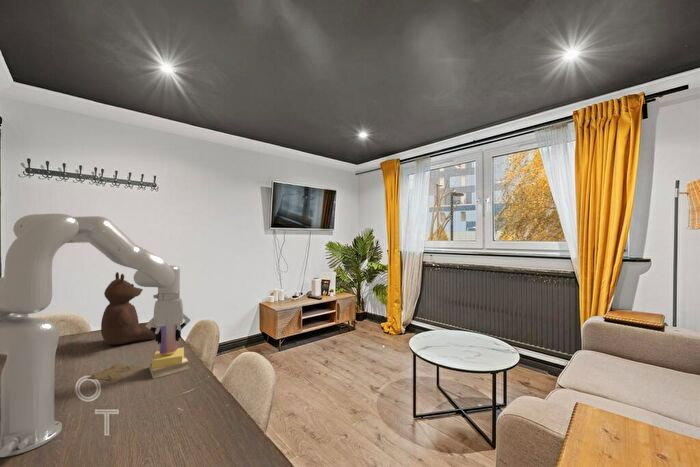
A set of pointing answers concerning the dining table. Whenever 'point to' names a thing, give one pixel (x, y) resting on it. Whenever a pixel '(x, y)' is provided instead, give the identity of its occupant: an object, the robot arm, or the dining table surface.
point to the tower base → (168, 368)
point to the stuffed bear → (123, 315)
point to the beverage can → (168, 338)
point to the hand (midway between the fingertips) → (168, 341)
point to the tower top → (168, 358)
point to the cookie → (114, 372)
